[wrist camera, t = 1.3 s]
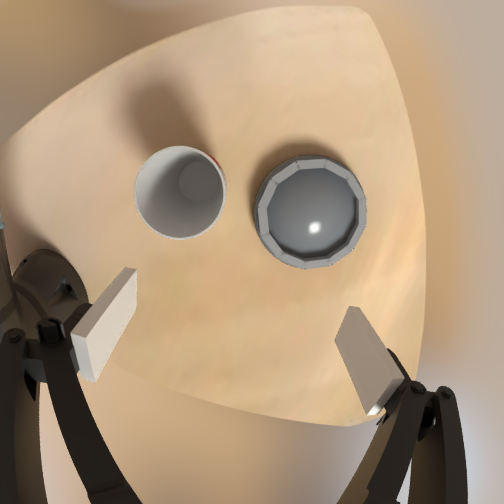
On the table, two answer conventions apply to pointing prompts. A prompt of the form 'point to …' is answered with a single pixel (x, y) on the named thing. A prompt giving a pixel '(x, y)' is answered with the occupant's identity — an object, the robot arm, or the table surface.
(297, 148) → the table surface
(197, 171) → the cup
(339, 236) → the tray
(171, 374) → the table surface
